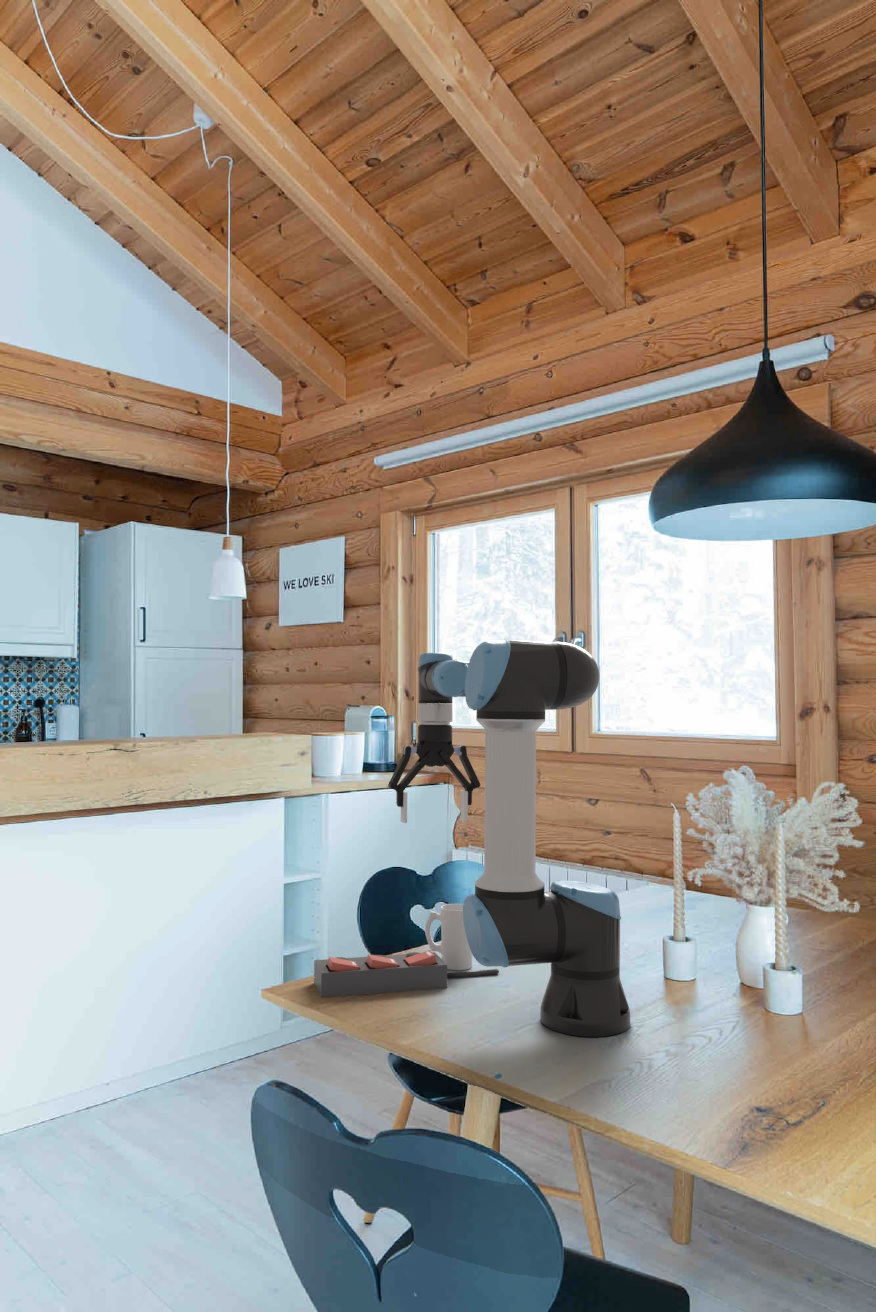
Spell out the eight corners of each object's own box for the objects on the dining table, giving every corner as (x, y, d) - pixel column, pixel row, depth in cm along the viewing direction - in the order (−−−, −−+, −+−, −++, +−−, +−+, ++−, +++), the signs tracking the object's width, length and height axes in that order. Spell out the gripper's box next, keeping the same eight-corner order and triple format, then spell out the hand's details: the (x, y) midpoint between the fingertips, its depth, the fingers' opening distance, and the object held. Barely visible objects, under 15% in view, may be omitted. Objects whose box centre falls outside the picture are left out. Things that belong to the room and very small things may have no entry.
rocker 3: (436, 962, 181) (434, 954, 181) (410, 970, 180) (409, 963, 180) (431, 957, 185) (429, 949, 185) (406, 965, 183) (404, 957, 183)
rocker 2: (396, 971, 179) (398, 964, 179) (370, 966, 178) (372, 959, 178) (391, 966, 183) (393, 958, 183) (366, 961, 181) (368, 953, 182)
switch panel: (509, 982, 184) (509, 958, 184) (321, 997, 174) (321, 971, 174) (493, 969, 192) (494, 946, 193) (313, 982, 183) (314, 958, 183)
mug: (475, 962, 198) (476, 904, 198) (471, 971, 191) (471, 911, 191) (427, 959, 199) (428, 902, 200) (421, 968, 193) (422, 909, 193)
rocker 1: (357, 974, 177) (359, 966, 177) (330, 969, 176) (332, 961, 176) (353, 968, 181) (355, 961, 181) (327, 964, 179) (329, 956, 180)
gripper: (483, 723, 215) (483, 817, 214) (375, 722, 208) (374, 820, 207) (494, 724, 208) (494, 821, 207) (383, 724, 201) (381, 825, 200)
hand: (434, 821), depth 207 cm, fingers open, 13 cm apart
